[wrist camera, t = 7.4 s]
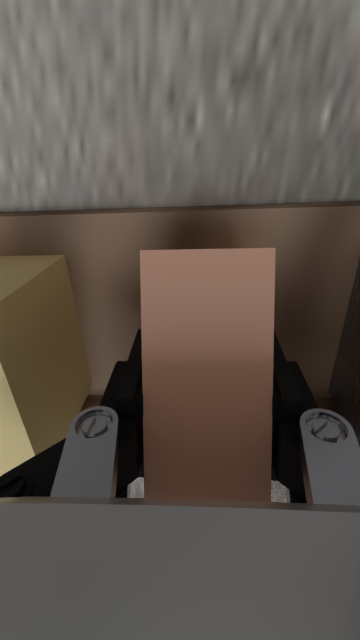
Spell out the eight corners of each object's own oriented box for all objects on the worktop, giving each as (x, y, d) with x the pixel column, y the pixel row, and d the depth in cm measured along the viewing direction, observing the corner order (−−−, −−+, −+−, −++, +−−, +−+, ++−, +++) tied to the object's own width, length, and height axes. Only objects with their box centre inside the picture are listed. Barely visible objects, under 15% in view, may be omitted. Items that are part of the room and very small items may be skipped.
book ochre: (64, 254, 14) (-18, 314, 9) (92, 384, 18) (45, 482, 12) (-9, 256, 14) (-132, 314, 9) (33, 384, 18) (-39, 480, 13)
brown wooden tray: (507, 197, 13) (609, 210, 10) (421, 398, 18) (470, 451, 15) (-114, 216, 15) (-202, 232, 12) (-33, 392, 20) (-79, 438, 17)
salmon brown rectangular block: (243, 267, 14) (275, 247, 8) (242, 429, 15) (270, 524, 9) (166, 268, 14) (139, 250, 8) (168, 427, 15) (144, 518, 9)
